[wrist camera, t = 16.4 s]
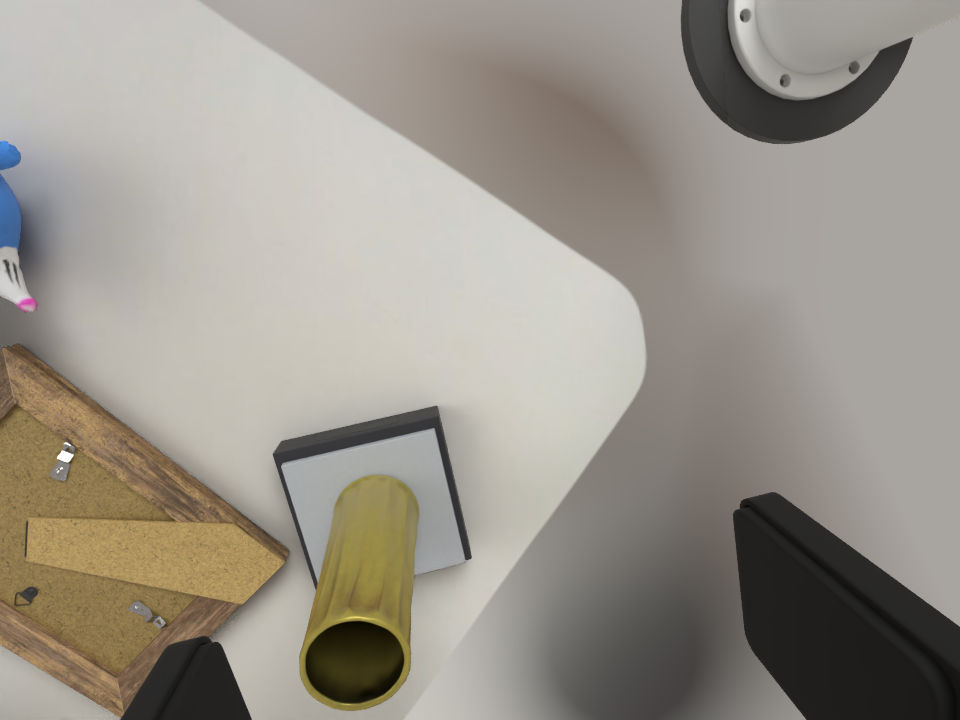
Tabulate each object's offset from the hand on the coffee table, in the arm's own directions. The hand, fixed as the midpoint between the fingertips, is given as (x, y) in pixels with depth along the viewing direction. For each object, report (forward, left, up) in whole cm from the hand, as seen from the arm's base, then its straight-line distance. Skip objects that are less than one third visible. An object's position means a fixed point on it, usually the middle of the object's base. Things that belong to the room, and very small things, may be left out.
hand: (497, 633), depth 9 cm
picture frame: (+29, +9, -31) cm, 44 cm away
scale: (+7, +11, -31) cm, 34 cm away
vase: (+7, +11, -28) cm, 31 cm away
